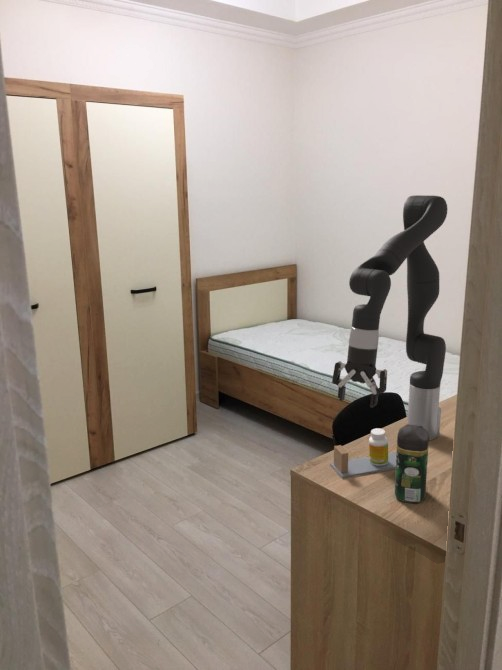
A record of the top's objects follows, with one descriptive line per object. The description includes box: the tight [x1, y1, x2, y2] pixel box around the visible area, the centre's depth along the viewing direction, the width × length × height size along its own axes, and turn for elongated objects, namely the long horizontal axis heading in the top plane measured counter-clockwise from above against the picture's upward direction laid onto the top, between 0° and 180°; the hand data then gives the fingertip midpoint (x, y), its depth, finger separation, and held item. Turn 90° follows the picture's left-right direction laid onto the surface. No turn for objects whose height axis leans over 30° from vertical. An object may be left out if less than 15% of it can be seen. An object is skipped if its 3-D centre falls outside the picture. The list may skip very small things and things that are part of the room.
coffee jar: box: [394, 423, 430, 504], centre depth 148 cm, size 10×8×19 cm
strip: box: [329, 444, 396, 479], centre depth 166 cm, size 26×8×7 cm, turn 107°
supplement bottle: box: [368, 427, 389, 466], centre depth 165 cm, size 5×5×10 cm
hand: (356, 403), depth 155 cm, fingers open, 8 cm apart
